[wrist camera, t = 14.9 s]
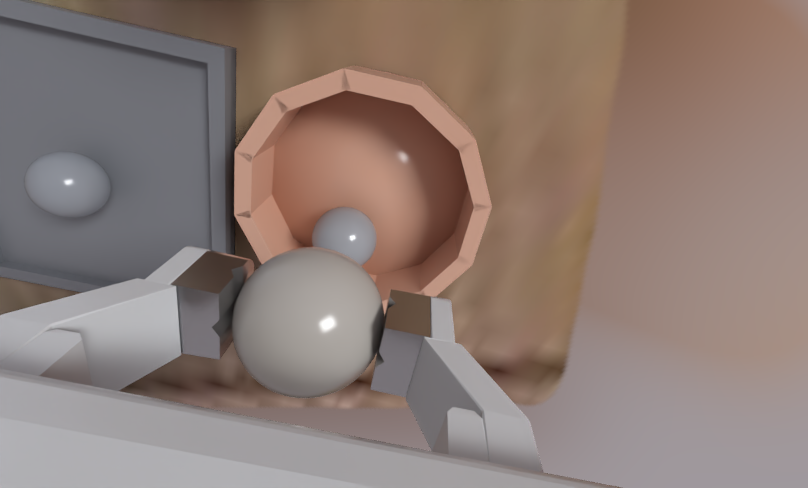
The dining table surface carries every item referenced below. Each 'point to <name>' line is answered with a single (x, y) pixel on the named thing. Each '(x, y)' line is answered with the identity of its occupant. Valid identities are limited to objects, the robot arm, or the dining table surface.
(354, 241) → the pebble
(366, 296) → the pebble
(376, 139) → the bowl
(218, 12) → the dining table surface
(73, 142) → the tray
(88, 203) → the pebble
